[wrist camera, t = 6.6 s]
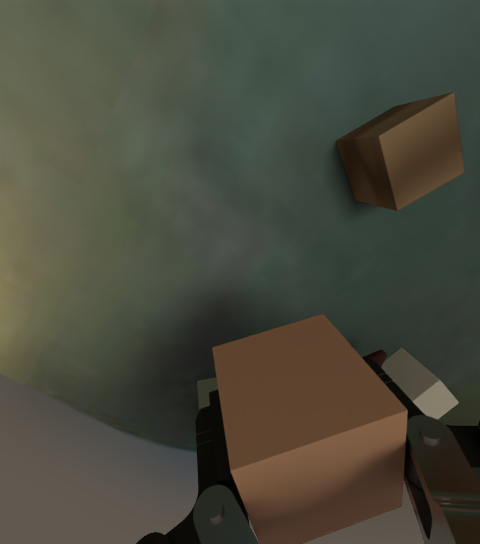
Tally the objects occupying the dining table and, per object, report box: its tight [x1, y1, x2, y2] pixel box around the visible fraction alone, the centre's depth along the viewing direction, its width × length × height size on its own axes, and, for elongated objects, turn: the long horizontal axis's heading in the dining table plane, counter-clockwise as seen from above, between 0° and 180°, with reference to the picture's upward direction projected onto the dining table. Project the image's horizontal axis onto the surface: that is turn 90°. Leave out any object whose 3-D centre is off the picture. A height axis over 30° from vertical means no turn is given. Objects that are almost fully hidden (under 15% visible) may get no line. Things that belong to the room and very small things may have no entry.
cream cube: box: [381, 348, 459, 419], centre depth 29 cm, size 5×5×5 cm
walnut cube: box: [336, 92, 464, 211], centre depth 19 cm, size 5×5×5 cm
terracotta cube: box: [212, 314, 408, 544], centre depth 11 cm, size 5×5×5 cm
